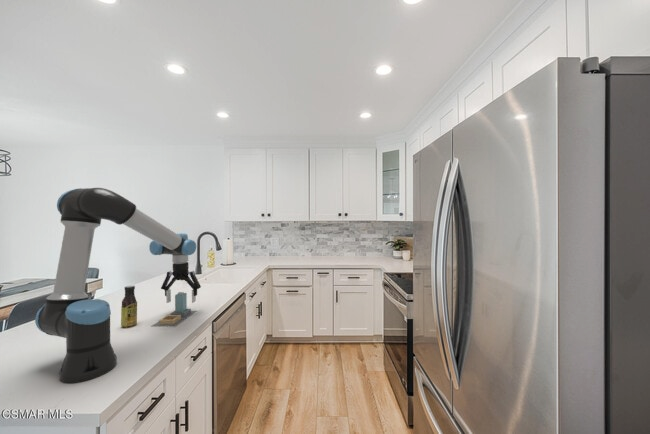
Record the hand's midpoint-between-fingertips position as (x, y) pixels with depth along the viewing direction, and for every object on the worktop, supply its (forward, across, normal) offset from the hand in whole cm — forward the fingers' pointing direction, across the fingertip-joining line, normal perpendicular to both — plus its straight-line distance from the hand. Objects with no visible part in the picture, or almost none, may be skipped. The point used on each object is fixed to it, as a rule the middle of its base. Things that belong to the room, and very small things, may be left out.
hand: (181, 302), depth 149 cm
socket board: (+8, 0, +5) cm, 9 cm away
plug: (+7, 0, 0) cm, 7 cm away
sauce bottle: (+8, +17, +15) cm, 24 cm away
